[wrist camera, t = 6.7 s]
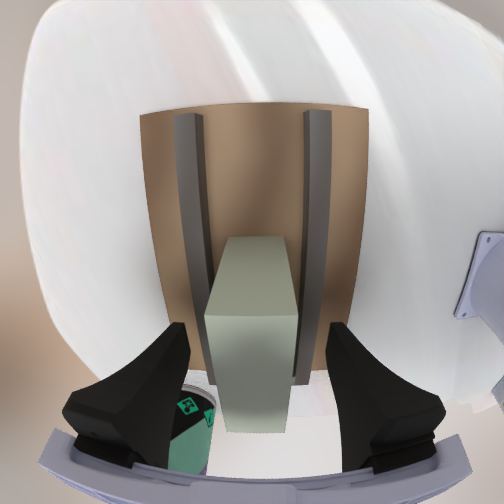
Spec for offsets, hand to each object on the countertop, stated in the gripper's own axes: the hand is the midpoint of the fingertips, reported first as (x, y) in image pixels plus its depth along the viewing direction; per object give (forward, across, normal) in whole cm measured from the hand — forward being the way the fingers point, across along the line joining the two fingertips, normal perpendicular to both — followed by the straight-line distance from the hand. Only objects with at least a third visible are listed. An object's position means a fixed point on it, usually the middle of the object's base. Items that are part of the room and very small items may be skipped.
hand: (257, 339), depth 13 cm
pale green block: (+4, 0, 0) cm, 4 cm away
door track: (+5, 0, -2) cm, 5 cm away
